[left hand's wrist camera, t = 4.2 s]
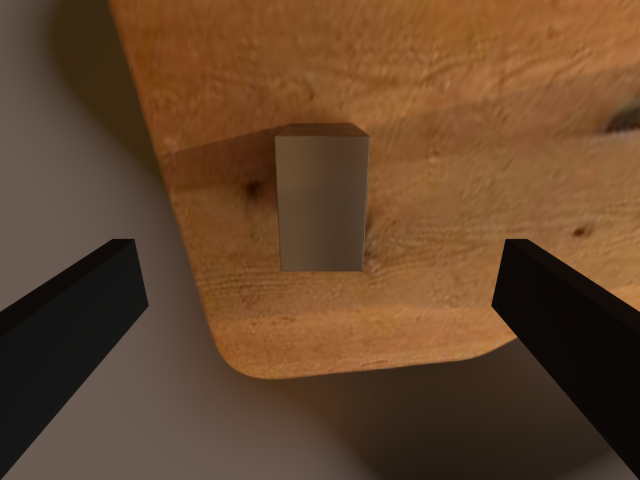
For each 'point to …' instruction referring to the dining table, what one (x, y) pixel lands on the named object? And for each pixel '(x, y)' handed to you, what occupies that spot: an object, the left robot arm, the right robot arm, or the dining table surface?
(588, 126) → the dining table surface
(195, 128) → the dining table surface
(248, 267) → the dining table surface
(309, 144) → the brick
